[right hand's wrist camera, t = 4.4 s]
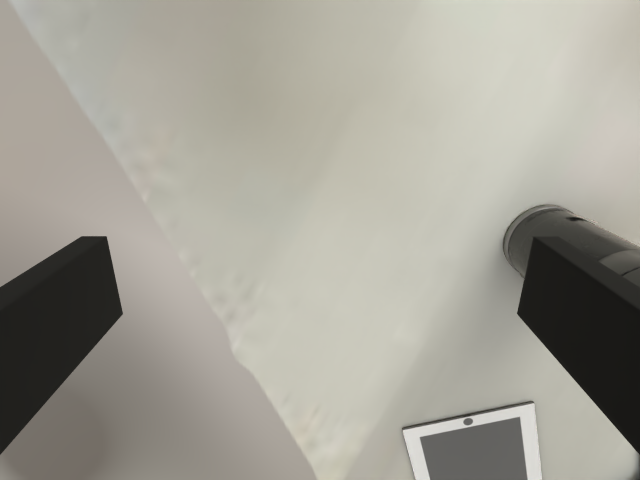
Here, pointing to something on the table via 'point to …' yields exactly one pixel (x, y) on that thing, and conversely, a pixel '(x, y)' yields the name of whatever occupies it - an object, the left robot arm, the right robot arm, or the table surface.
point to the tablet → (477, 446)
